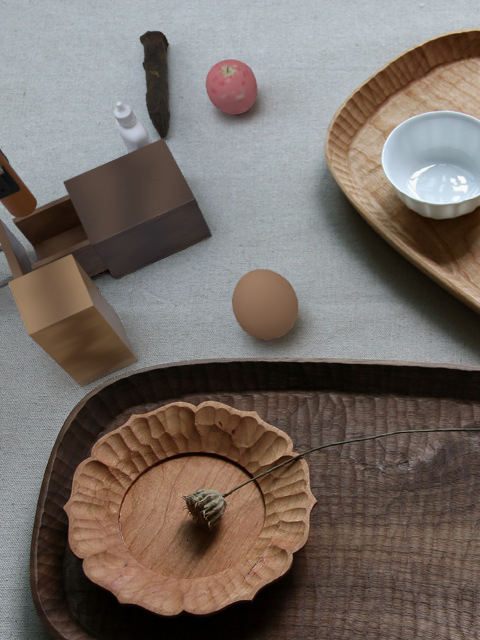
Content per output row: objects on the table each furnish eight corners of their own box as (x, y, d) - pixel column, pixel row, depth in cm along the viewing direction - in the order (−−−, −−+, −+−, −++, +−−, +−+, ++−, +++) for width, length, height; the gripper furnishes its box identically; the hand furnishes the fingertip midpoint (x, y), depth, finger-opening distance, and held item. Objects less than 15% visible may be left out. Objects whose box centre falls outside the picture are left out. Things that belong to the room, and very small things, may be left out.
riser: (81, 387, 106) (28, 335, 92) (62, 339, 109) (7, 282, 95) (138, 360, 107) (93, 304, 94) (117, 314, 110) (71, 253, 96)
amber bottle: (13, 222, 100) (-33, 167, 91) (5, 201, 102) (-41, 145, 92) (41, 210, 101) (-2, 154, 91) (32, 189, 102) (-11, 132, 93)
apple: (264, 86, 125) (253, 45, 117) (260, 124, 122) (248, 85, 114) (217, 87, 125) (203, 46, 118) (211, 125, 122) (196, 85, 115)
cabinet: (116, 280, 112) (91, 245, 104) (88, 219, 117) (62, 181, 109) (212, 236, 115) (195, 198, 107) (181, 177, 119) (163, 137, 111)
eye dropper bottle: (161, 144, 121) (133, 85, 110) (164, 174, 119) (136, 116, 108) (132, 150, 121) (101, 90, 110) (134, 179, 119) (103, 122, 108)
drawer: (4, 322, 110) (-22, 297, 103) (-18, 265, 113) (-44, 237, 107) (131, 264, 112) (112, 236, 106) (105, 210, 116) (86, 180, 110)
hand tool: (146, 50, 129) (135, 27, 124) (171, 47, 129) (161, 23, 124) (145, 145, 121) (134, 123, 117) (172, 142, 121) (162, 120, 117)
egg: (232, 316, 109) (210, 271, 99) (286, 287, 111) (270, 241, 100) (259, 363, 106) (240, 322, 96) (315, 333, 108) (302, 290, 97)
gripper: (-147, 24, 82) (-47, 145, 99) (-107, 137, 76) (-7, 245, 93) (-76, -4, 83) (11, 120, 100) (-31, 105, 77) (54, 218, 94)
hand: (2, 179), depth 97 cm, fingers closed on amber bottle, 3 cm apart
